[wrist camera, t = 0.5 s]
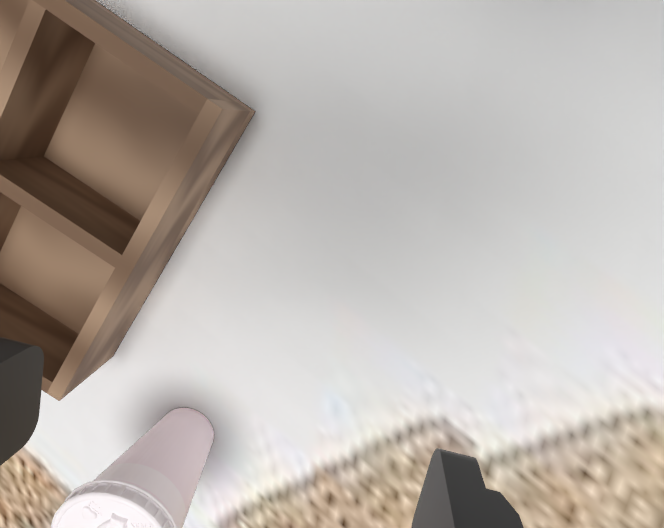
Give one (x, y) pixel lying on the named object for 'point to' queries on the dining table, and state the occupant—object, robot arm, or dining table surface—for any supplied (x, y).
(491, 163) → the dining table surface
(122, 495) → the smoothie
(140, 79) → the bottle caddy
